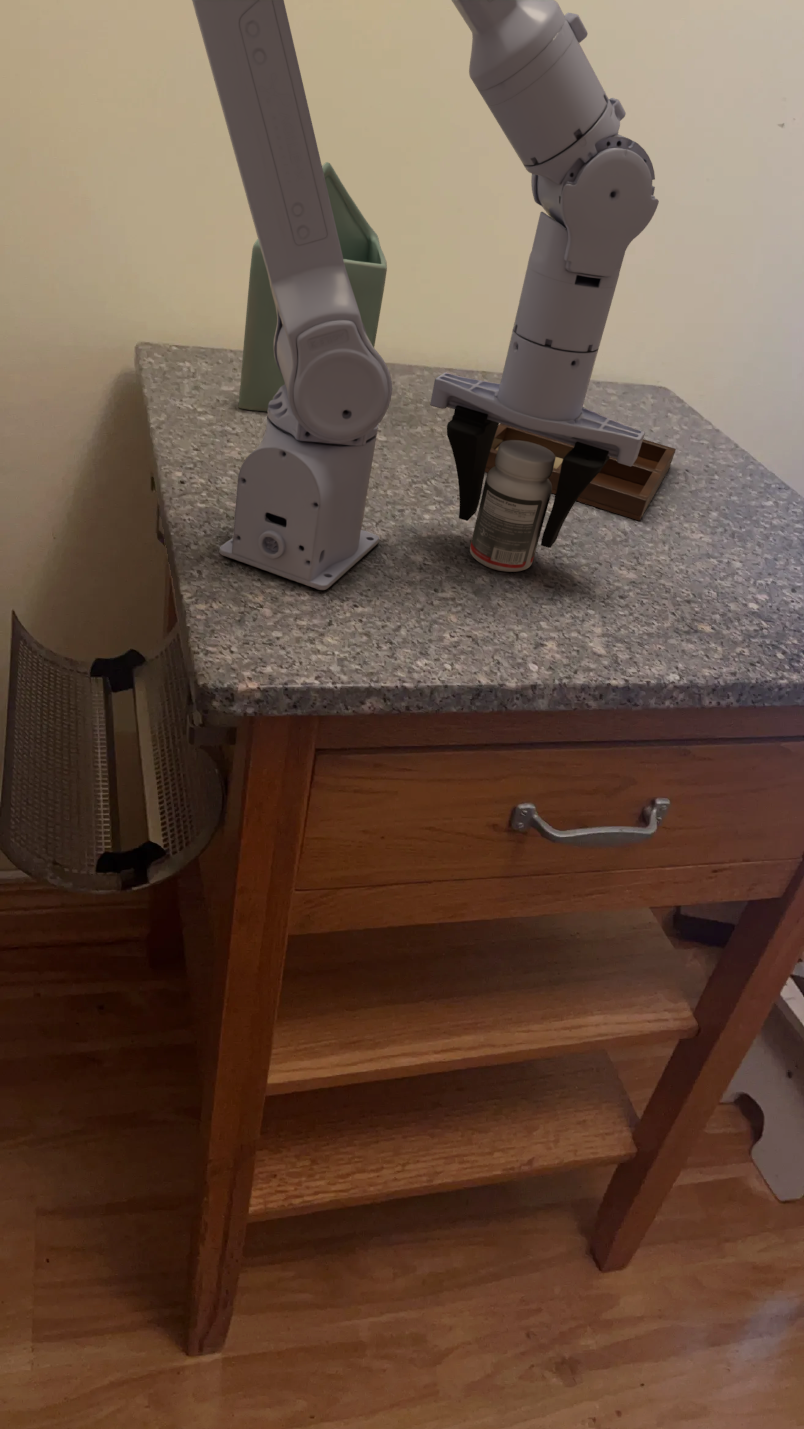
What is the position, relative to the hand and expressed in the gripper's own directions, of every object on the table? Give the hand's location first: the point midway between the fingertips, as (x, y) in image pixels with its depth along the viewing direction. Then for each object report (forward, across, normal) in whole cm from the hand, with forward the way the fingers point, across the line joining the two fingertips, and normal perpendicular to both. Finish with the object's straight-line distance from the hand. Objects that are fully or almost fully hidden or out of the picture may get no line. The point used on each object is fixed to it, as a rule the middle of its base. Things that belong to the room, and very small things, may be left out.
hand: (507, 528), depth 75 cm
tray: (+2, 0, -23) cm, 23 cm away
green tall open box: (+3, +23, -19) cm, 30 cm away
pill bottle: (+3, 0, 0) cm, 3 cm away
